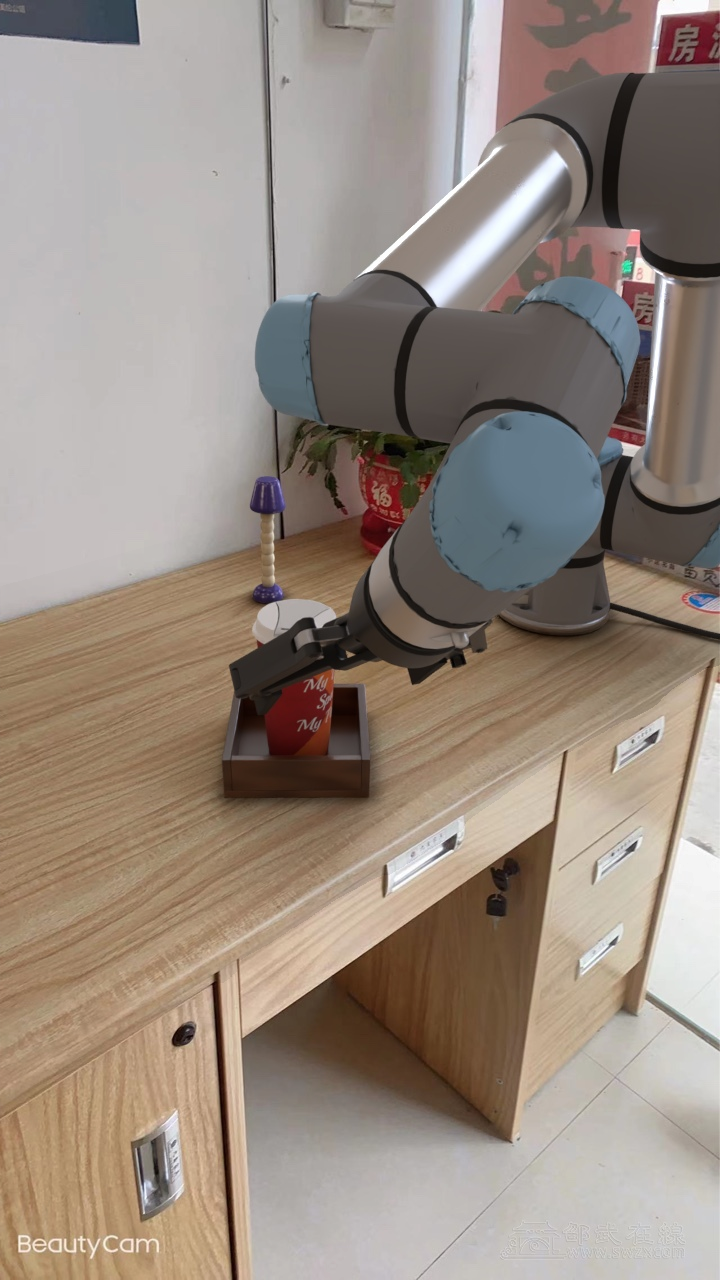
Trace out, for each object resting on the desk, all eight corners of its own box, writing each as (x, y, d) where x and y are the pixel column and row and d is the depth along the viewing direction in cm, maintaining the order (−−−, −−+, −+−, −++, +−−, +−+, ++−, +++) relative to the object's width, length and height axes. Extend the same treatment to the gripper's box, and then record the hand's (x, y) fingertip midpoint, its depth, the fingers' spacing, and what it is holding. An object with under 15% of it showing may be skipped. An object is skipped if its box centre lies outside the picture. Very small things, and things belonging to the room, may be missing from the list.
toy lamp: (257, 587, 123) (253, 472, 116) (290, 590, 123) (288, 474, 115) (249, 602, 119) (244, 483, 111) (283, 605, 119) (280, 486, 111)
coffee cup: (329, 779, 84) (329, 640, 77) (246, 767, 85) (239, 630, 78) (347, 730, 91) (349, 600, 84) (271, 720, 93) (267, 591, 86)
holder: (363, 717, 95) (364, 683, 93) (369, 797, 83) (370, 759, 81) (237, 717, 94) (235, 683, 92) (224, 797, 83) (221, 760, 80)
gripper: (240, 689, 49) (198, 758, 68) (613, 619, 57) (482, 698, 77) (211, 565, 51) (179, 667, 70) (578, 515, 59) (458, 618, 78)
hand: (337, 683), depth 73 cm, fingers open, 13 cm apart
